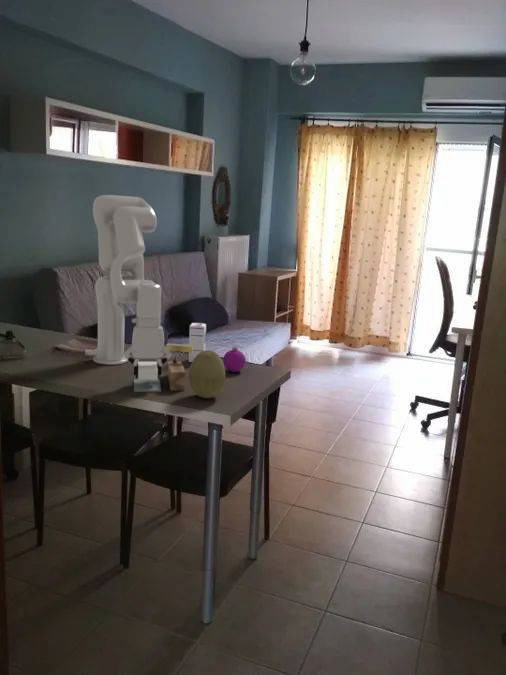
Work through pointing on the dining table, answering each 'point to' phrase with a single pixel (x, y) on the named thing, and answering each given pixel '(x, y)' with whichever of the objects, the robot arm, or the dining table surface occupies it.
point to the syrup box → (197, 339)
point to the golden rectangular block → (178, 349)
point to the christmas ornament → (234, 360)
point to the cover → (147, 370)
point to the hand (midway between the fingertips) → (147, 376)
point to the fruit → (207, 374)
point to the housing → (176, 375)
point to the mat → (147, 385)
